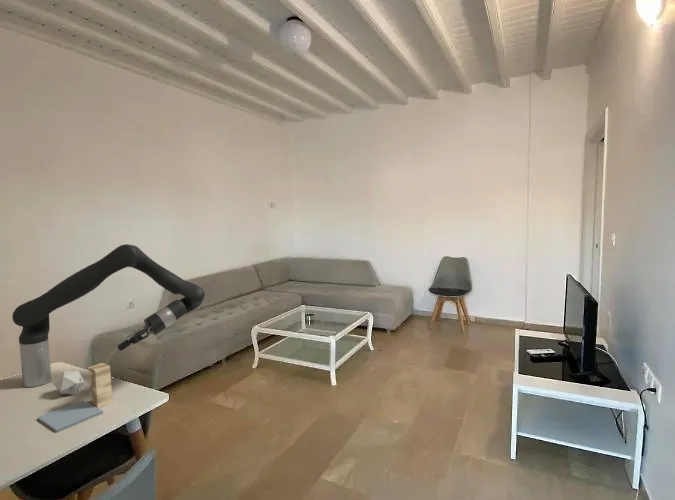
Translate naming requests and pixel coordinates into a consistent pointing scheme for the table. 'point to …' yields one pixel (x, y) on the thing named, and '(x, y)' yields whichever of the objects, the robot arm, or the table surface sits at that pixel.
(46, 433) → the table surface
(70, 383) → the die
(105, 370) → the beech block
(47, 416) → the mat
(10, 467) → the table surface
